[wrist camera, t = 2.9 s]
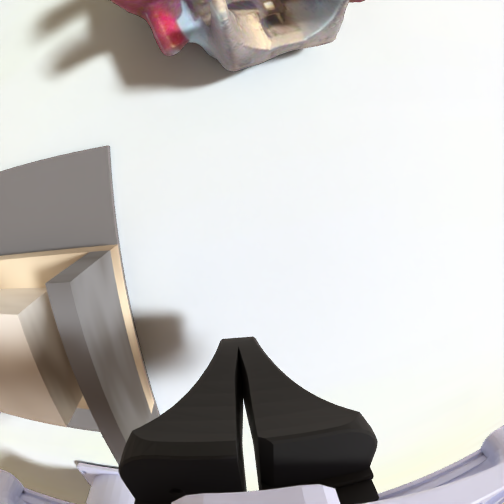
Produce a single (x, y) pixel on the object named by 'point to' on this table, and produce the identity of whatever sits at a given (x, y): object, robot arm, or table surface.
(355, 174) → the table surface
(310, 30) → the brake caliper
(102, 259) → the grey beige angular piece
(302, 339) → the table surface
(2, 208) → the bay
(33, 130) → the table surface
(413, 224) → the table surface
